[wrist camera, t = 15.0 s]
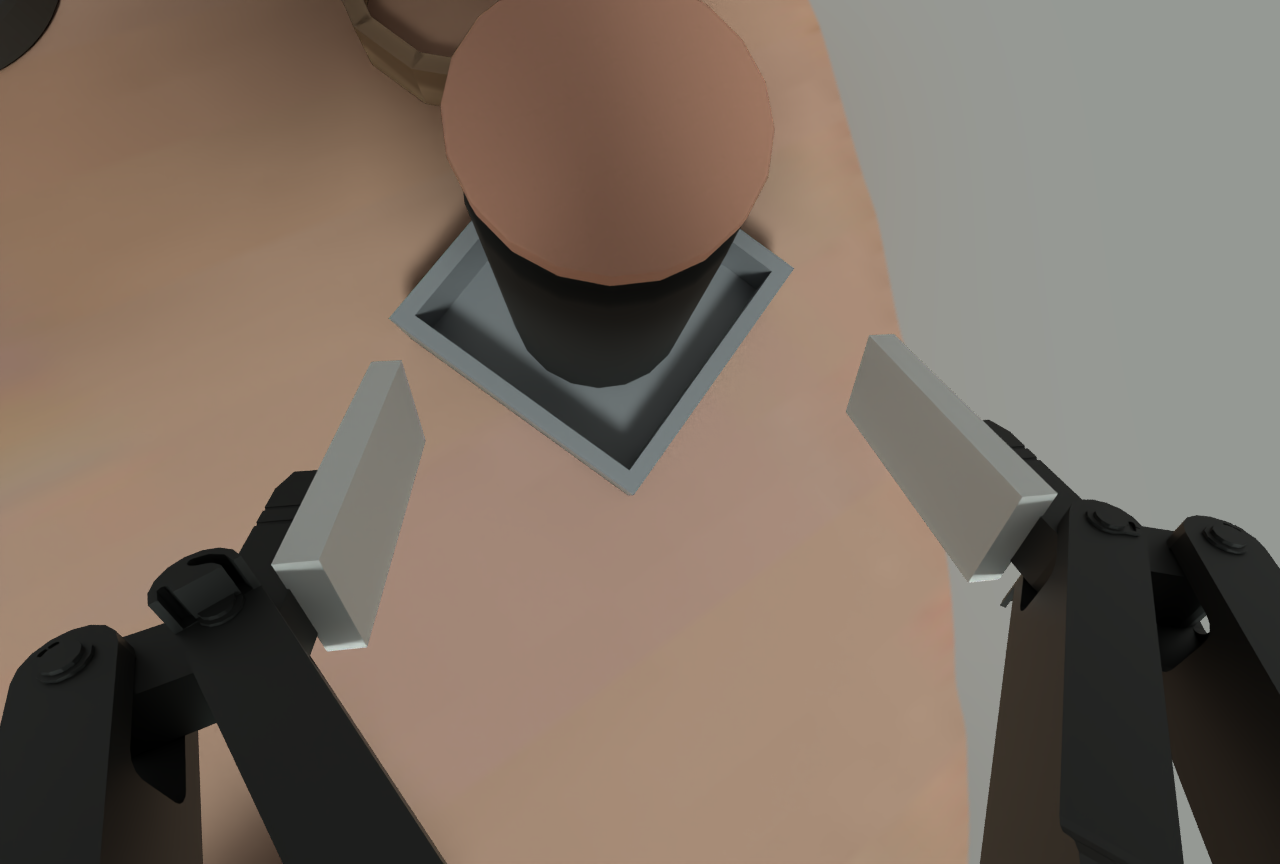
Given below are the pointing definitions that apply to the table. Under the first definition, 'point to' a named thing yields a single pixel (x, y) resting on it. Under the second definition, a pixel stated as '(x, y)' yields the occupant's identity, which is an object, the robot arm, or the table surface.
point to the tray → (575, 414)
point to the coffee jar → (605, 169)
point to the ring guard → (399, 56)
